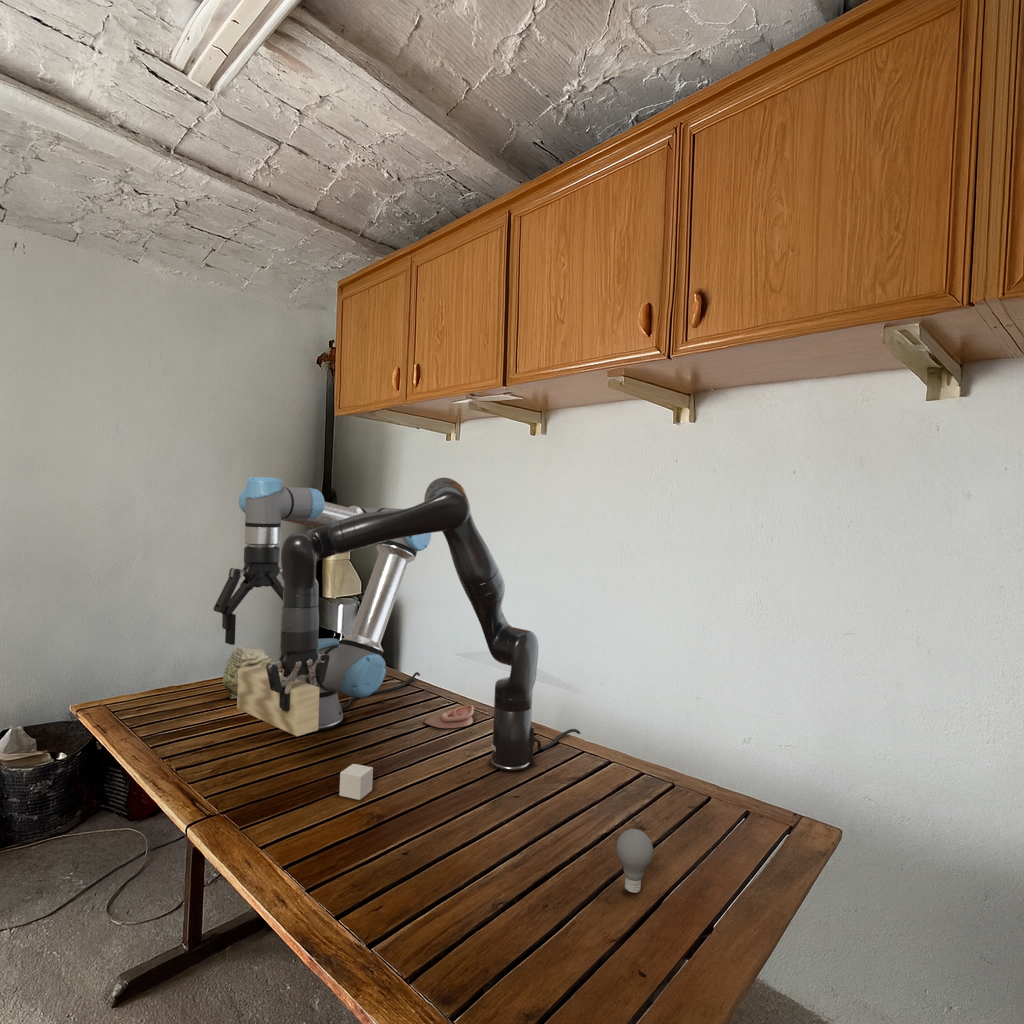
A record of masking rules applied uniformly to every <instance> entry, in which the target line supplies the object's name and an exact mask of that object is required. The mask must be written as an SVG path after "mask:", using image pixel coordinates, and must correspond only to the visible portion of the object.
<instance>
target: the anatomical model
mask: <svg viewBox="0 0 1024 1024" xmlns="http://www.w3.org/2000/svg"><path fill="white" fill-rule="evenodd" d="M474 713H475V707H474V706H473V705H472V704H467V705H462V706H459V707H454V708H452V709H450V710H447V711H444V712H441V713H437V714H434V715H432V716H429V717H428V718H426V719H425V720H424V723H425V724H426V725H429V726H431V727H434V728H437V729H457V728H463V727H468V726H470V725H472V724H473V723H474V718H473V717H472V716H473V715H474Z"/></svg>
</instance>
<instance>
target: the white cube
mask: <svg viewBox="0 0 1024 1024" xmlns="http://www.w3.org/2000/svg"><path fill="white" fill-rule="evenodd" d="M373 775H374V767H373V766H369V765H362V764H357V763H351V764H350V765H349V766H348V767H346V768H344V769H343V770H341V772H340V773H339V794H338V795H339V797H344V798H348V799H352V800H357V801H361V800H362V799H363V798H364V797H366V796H367V795H369V794H370V793H371V792H372V791H373V783H374V781H373V779H374V778H373V777H374V776H373Z"/></svg>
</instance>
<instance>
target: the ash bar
mask: <svg viewBox="0 0 1024 1024" xmlns="http://www.w3.org/2000/svg"><path fill="white" fill-rule="evenodd" d="M281 673H282V672H281ZM281 673H279V675H280V681H281V675H282V674H281ZM288 677H290V675H288ZM319 689H320V688H319V687H316V686H314V685H311V684H308V683H306V682H303V681H300V680H297V679H295V682H294V683H293V684H292V686H291V689H290V692H289V693H290V711H287V712H285V711H283V710H282V709H281V708H280V706H279V698H280V693H277V692H275V691H272V690H271V689H270V684H269V679H268V674H267V669H266V668H265V667H262V666H259V665H258V666H252V667H247V668H242V669H238V694H237V698H236V699H237V700H236V709H237V710H240V711H241V712H244V713H245V714H248V715H250V716H253V717H254V718H257V719H259V720H261V721H263V722H265V723H267V724H270V725H271V726H273V727H276V728H277V729H280V730H282V731H284V732H287V733H288V734H290V735H293V736H295V737H300V736H303V735H306V734H310V733H315V732H314V731H317V730H318V719H319Z"/></svg>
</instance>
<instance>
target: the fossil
mask: <svg viewBox="0 0 1024 1024" xmlns="http://www.w3.org/2000/svg"><path fill="white" fill-rule="evenodd" d="M268 663H271V664H273V663H275V662H274V660H273V659H272V658H271V657H270V656H269V655H268V654H267V653H266V652H265V650H264V649H263V648H260V647H258V648H251V647H247V646H246V647H245V646H238V647H237V648H236V649H235V650H233V651H232V653H231V656H230V657H229V659H228V660H227V663H226V666H225V668H224V671H223V675H222V676H223V677H222V685H223V687H224V688H225V690H226V691H228V693H229V698H230V699H237V694H238V669H242V668H247V667H252V666H258V665H259V666H262V667H265V668H266V665H267V664H268ZM279 673H281V674H282V672H281V671H280V672H279Z"/></svg>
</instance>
